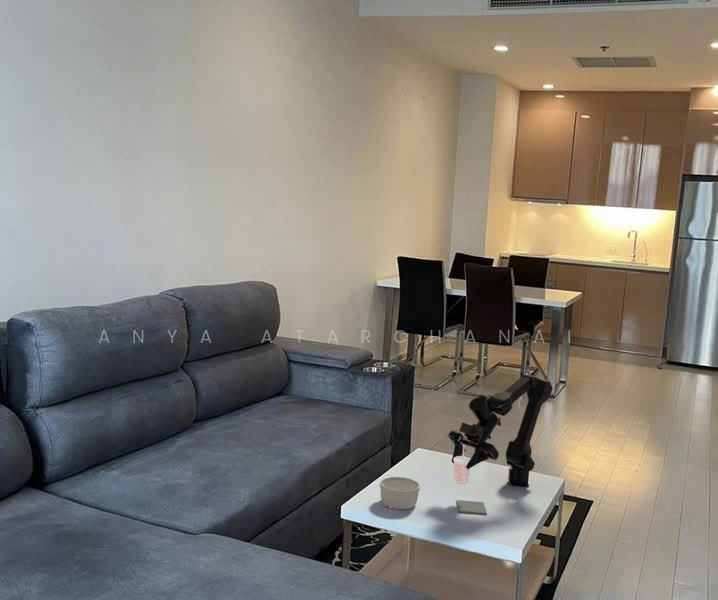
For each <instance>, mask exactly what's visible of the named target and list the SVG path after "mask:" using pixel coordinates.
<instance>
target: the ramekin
mask: <svg viewBox="0 0 718 600" xmlns="http://www.w3.org/2000/svg"><path fill="white" fill-rule="evenodd" d="M379 488H380V499H381V503H382V504H383V505H384V506H385V505H386V506H388V507H391V508H395V509H394V510H396V509H407V510H410V508H411V509H414V507H415V506H416V505H417V502H418V498H419V492H420V490H421V485H420V483H419V482H418V481H417V480H415V479H412V478H410V477H403V476H388V477H384V478H382V479H381V480H380V482H379ZM386 506H385V507H386ZM388 507H387V508H388ZM391 508H390V509H391Z"/></svg>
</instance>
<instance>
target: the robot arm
mask: <svg viewBox="0 0 718 600" xmlns="http://www.w3.org/2000/svg"><path fill="white" fill-rule="evenodd" d="M552 392H553V385H552V383H551V382H550V380H545V379H541V378H538V377H536V376H535V375H531V374H527V373H524V374H522V375H521V376H520V378H519V379H517V380H516V381H515V382H514V383H513V384H511V385H509V387H507V389H505V390H504V391H502V392H497V393H494V394H493V395H491V396H489V398H487V396H486V395H483V394H480V395H479V396H478V397H475V398H473V399H472V400H470V401H469V404H468V408H469V410H470V411H471V413H472V414H473V416H474V417H475V418H476V420H478V421H477V423H476V424H475V423H473V424H472V425H470V424H468V423H465V422H461V425H460V428H459V431H457V430H450V432H449V433H448V434H447V436H448V439H449V440H450V441H451V442H452V444H453V445H454V449H453V453H452V459H451V463H452V464H454V457H456V456H462V454H463V445H465V446H468V447H471V448H474V452H473V455H472V456H471V458H470V461H469V462H468V464H467V466H466V468H467V469H469V468H470V469H471V468H473V467H474V466H477V465H478V464H480V463H482V462H484V461H489V460H490V459H491V460H493V461H497V459H498V458H499V456H500V455H499V454H500V453H499V451H498V449H497V448H496V447H495V445H494V444H492V443H489V442H487V440H491V439H492V436H491V434H492V433H493V432H494V430H495V428H496V427H497V426H498V427H501V425H502V422H501V417H499V416H503V417H505V416H507V415H508V413H510V411H511V410H512V409H513V404H514V403H515V402H516V401H517V400H518V399H519V398H521V397H522V396H524V395H525V394H527V395H526V396H527V399H528V401H527V404H526V406H525V410H524V413H523V416H522V419H521V423H520V426H519V429H518V432H517V436H516V438H515V439H513V440H509V442H508V446H507V448H506V451H505V459H506V465H507V466H508V465H509V466H510V468H508V475H507V476H508V477H507V480H508V482H509V484H510V486H516V487H528V486H529V487H530V484H529V476H530V472H531V471H533V470H534V469H535V464H536V463H535V462H534V460H533V457H532V447H531V440H532V437H533V435H534V430H535V428H536V424H537V420H538V418H539V415H540V411H541V408H542V406H543V404H544V403H546V402H547V401H548V400H549V398H550V395H551V394H552ZM498 415H499V416H498ZM462 433H464V435H463V434H462ZM464 436H465V437H466V438H465V437H464ZM466 451H467V449H466V448H464V453H466Z"/></svg>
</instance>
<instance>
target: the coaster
mask: <svg viewBox="0 0 718 600" xmlns="http://www.w3.org/2000/svg"><path fill="white" fill-rule="evenodd" d="M455 501H456V506H457V511H458V513H459V514H473V515H484V516H486V515H488V514H487V510H486V506H485V503H484V501H475V500H473V501H472V500H460V499H456V500H455Z"/></svg>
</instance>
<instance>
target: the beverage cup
mask: <svg viewBox="0 0 718 600" xmlns="http://www.w3.org/2000/svg"><path fill="white" fill-rule="evenodd" d="M465 446H466V445H463V454H462V455H461V456H456V457H454V463H453V486H454V487H456V488H460V489H462V488H463V489H465V488H468V484H469V479H470V473H471V472H470V471H471V468H469V469H467V468H466V466H467V464H468V462H469V461H470V459H471V458H470V457H468V456H465V452H464V448H465ZM465 449H466V448H465Z"/></svg>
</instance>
